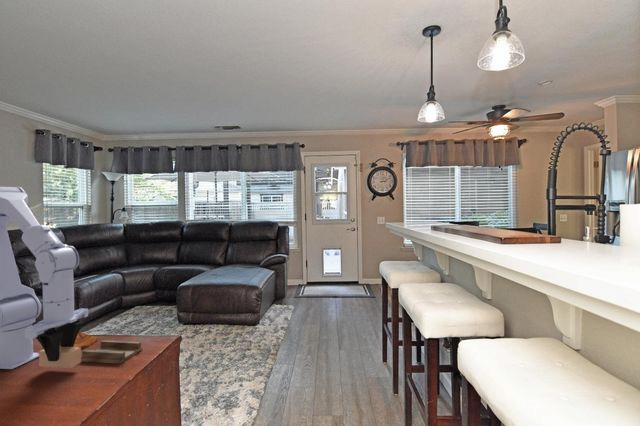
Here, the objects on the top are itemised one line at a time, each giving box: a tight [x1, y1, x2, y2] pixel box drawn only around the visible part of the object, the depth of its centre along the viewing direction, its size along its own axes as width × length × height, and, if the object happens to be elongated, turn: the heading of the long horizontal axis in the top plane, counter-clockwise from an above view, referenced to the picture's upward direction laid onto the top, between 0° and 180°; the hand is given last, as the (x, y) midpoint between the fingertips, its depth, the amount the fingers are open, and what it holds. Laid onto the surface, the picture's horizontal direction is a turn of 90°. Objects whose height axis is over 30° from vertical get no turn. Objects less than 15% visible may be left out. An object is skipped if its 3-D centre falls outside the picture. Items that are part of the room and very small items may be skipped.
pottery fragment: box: [60, 331, 98, 350], centre depth 94 cm, size 10×5×10 cm
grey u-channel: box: [81, 339, 143, 364], centre depth 88 cm, size 11×8×2 cm
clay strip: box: [38, 346, 82, 369], centre depth 79 cm, size 8×3×4 cm, turn 82°
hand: (60, 357), depth 79 cm, fingers closed on clay strip, 3 cm apart
